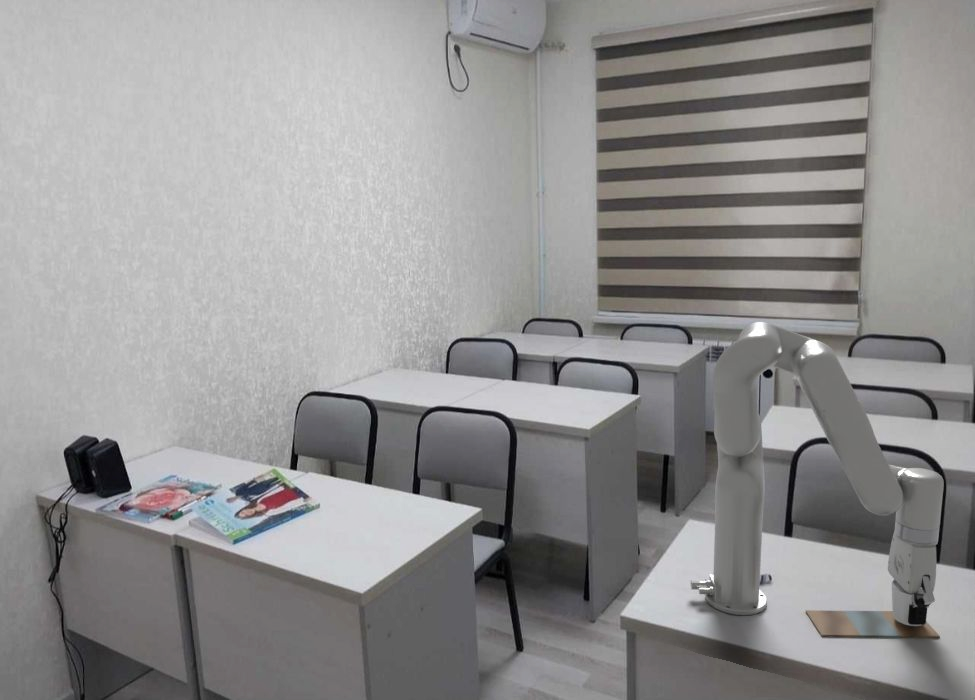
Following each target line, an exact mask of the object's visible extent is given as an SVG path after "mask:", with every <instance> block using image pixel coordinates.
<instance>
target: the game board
mask: <svg viewBox="0 0 975 700" xmlns="http://www.w3.org/2000/svg"><path fill="white" fill-rule="evenodd" d="M805 614H806V615H807V616H808V618H809V620H810V621H811V623H812V624H813V626H814V627H815V629H816V630H817V632H818V634H819V635H820V636H821V637H822V638H831V637H832V638H909V639H910V638H913V639H915V638H916V639H918V638H919V639H922V638H924V639H928V638H929V639H940V638H941V637H940V634H938V632H937V631H936V630H935V629H934V628H933V627H932V626H931V625H930V623H928V621H926V624H925V625H921V626H909V625H905V624H902V623H900V622H898V621H897V620H895V619H894V617H893V610H813V609H812V610H805Z"/></svg>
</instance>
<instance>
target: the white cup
mask: <svg viewBox="0 0 975 700" xmlns="http://www.w3.org/2000/svg"><path fill="white" fill-rule="evenodd" d="M918 590H922V588H919V589H918ZM916 595H917V600H918V599H919V598H923V596H924V595H923V594H916ZM911 597H912V594H911V593H908V592H907V591H905V590H904V589H903V588H902V587H901V586H900V585H899V583H898V582H897V581H896V580H894V579H893V581H892V582H891V599H892V600H891V601H892V605H891V606H892V611H893V617H894V619H895V620H897V621H898V622H900V623H902V624H905V625H909V626H921V625H911V624H909V623H908V614H909V605H912V601H911Z"/></svg>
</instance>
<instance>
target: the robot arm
mask: <svg viewBox="0 0 975 700" xmlns="http://www.w3.org/2000/svg"><path fill="white" fill-rule="evenodd" d="M836 355H837V354H836V353H835V351H834V349H832V347H831V346H830V345H828V344H826V343H824V342H822V341H820V340H817V339H815V338H811V337H809V336H805V335H803V334H799V333H797V332H794V331H792V330H789V329H786V328H783V327H781V326H779V325H775V324H773V323H770V322H764V321H756V322H752V323H750V324H748V325H746V326H745V327H744V328H743V329H742V330H741V332H740V334H739V336H738V339H737V340H736V341H734V342H733V343H732V344H730V345H729V346H728V347H727V348H725V350H724V351H723V352H722V353H721V355H720V356H719V357H718V359H717V361H716V363H715V367H714V368H713V375H712V387H713V388H712V390H713V415H714V417H713V418H714V423H713V435H714V439H715V441H716V447H717V448H716V449H717V461H718V467H717V472H716V479H715V490H714V491H715V492H714V493H715V495H714V503H715V506H714V509H715V510H714V545H713V572H712V573H713V574H709V579H708V578H706V579H704V580H699V579H698V580H697V579H695V580H693V579H692V580H690V590H698V594H699V595H705V599H706V601H707V603H708V604H709V605H710V606H712V607H713V608H715V609H716V610H718V611H721V612H723V613H727V614H731V615H737V616H751V615H752V616H753V615H755V614H758V613H761V612H762V611H764V610H765V609H766V607H767V601H768V599H767V597H766V594H765V593H764V592H762V590H761V589H760V583H761V565H762V564H761V561H762V542H763V541H762V539H763V538H762V537H763V522H764V521H763V518H764V516H763V515H764V504H765V494H766V491H765V490H766V488H765V487H766V486H765V484H766V482H765V467H764V465H765V464H764V451H763V447H764V446H763V435H762V434H763V433H762V419H761V415H760V413H759V411H758V400H757V399H758V393H757V392H758V391H757V383H758V379H759V377H760V376H761V375H762V374H763V373H764V372H766V371H767V370H769V369H771V368H776V369H779V370H781V371H784V372H786V373H789V374H793V375H794V377H795V378H796V381H797V383H798V385H799V386H800V389H801V390H802V392H803V395H804V397H805V399H806V400H807V402H808V404H809V405H810V408H811V410H812V411H813V413H814V415H815V418H816V419H817V421H818V423H819V425H820V427H821V430H822V432H823V434H824V435H825V437H826V439H827V442H828V443H829V445H830V446H831V448H832V449H833V451H834V453H835V455H836V457H837V458H838V460H839V462H840V464H841V466H842V468H843V470H844V472H845V474H846V476H847V478H848V480H849V483H851V485H852V488H853V489H854V491H855V494H856V496H857V497H858V499H859V501H860V503H861V504H862V506H863V507H864V508H865V509H866V510H867V511H868V512H870V513H872V514H874V515H877V516H889V515H890V516H891V515H893V514H894V513H895V522H894V523H895V524H894V531H893V534H892V539H891V543H890V547H889V548H890V549H889V555H888V564H887V571H888V573H889V575H890V576H891V577H892V578H893V581H894V580H896V581H897V582H898V583H899V585H900V586H901V587H902V588H903V589H904V590H905V591H907V592H908V593H911V594H912V597H911V601H912V605H909V614H908V623H909V624H911V625H925V624H926V622H927V617H928V615H927V614H928V608H930V606H931V604H933V603H934V602H935V601H936V599H935V595H934V590H935V587H936V577H937V546H936V545H938V542H939V535H940V534H939V533H940V528H941V527H940V525H941V516H942V506H943V495H944V494H943V493H944V487H945V486H944V483H945V482H944V479H943V476H942V475H940V474H939V472H937V471H935V470H931V469H929V468H922V467H909V468H907V467H902V466H899V465H894V464H889V463H888V461H887V459H886V456H885V455H884V453H883V451H882V448H881V447H880V444H879V442H878V440H877V437H876V435H875V433H874V430H873V426H872V424H871V421H870V419H869V417H868V415H867V413H866V411H865V409H864V407H863V406H862V403H861V401H860V399H859V398H858V396H857V393H856V391H855V390H854V388H853V386H852V383H850V379H849V378H848V376H847V375H846V372H845V370H844V368H843V366H842V365H841V363H840V361H839V359H838V357H837V356H836ZM919 588H922V590H918V589H919ZM916 594H923V595H924V596H923V598H919V599H918V600H917V595H916Z"/></svg>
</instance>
